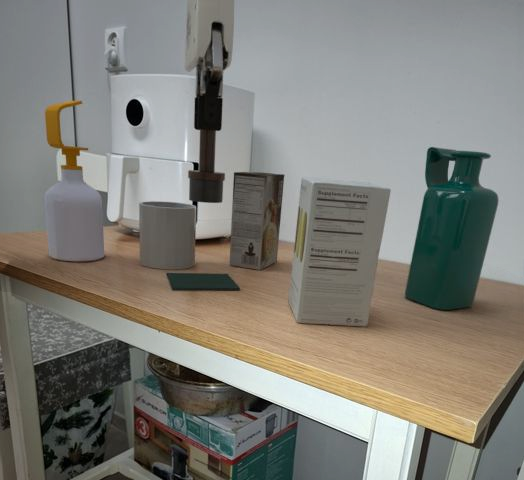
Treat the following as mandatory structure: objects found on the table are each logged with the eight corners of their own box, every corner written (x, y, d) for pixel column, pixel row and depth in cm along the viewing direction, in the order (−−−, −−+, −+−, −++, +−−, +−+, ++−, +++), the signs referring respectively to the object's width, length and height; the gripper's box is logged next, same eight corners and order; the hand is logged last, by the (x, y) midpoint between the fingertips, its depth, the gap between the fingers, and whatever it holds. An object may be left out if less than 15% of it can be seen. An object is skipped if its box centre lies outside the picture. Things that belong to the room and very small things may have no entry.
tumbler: (141, 269, 80) (140, 206, 76) (138, 257, 88) (137, 200, 84) (198, 270, 83) (200, 209, 79) (190, 258, 91) (191, 203, 87)
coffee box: (246, 257, 96) (252, 171, 90) (277, 262, 94) (285, 174, 88) (227, 265, 88) (233, 171, 82) (261, 270, 86) (268, 174, 80)
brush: (190, 201, 68) (192, 80, 62) (185, 198, 72) (187, 84, 67) (227, 203, 69) (232, 84, 63) (219, 200, 74) (224, 88, 68)
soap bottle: (114, 259, 85) (109, 103, 76) (64, 264, 79) (52, 94, 70) (88, 249, 91) (80, 103, 81) (39, 254, 84) (25, 95, 75)
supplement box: (286, 301, 69) (299, 176, 62) (350, 305, 70) (369, 181, 63) (296, 324, 60) (312, 180, 54) (368, 327, 61) (393, 186, 55)
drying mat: (172, 290, 70) (172, 287, 69) (166, 275, 78) (166, 272, 77) (240, 290, 72) (240, 288, 72) (227, 275, 80) (227, 273, 80)
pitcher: (478, 307, 74) (517, 152, 66) (442, 312, 70) (479, 148, 62) (427, 290, 82) (457, 150, 74) (392, 294, 78) (419, 145, 69)
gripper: (174, -19, 66) (173, 129, 73) (191, -62, 52) (188, 125, 59) (228, -9, 68) (222, 133, 75) (258, -49, 54) (247, 131, 61)
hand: (207, 129), depth 67 cm, fingers closed on brush
